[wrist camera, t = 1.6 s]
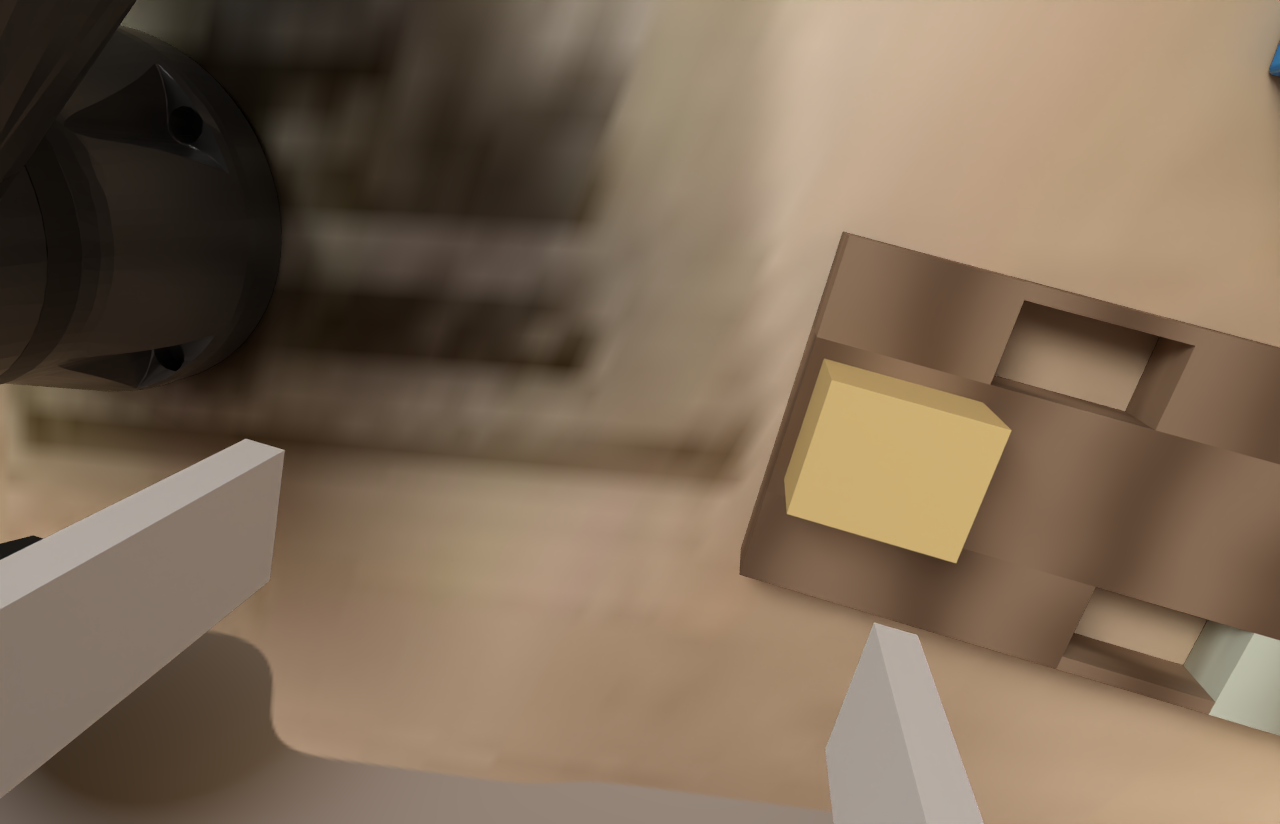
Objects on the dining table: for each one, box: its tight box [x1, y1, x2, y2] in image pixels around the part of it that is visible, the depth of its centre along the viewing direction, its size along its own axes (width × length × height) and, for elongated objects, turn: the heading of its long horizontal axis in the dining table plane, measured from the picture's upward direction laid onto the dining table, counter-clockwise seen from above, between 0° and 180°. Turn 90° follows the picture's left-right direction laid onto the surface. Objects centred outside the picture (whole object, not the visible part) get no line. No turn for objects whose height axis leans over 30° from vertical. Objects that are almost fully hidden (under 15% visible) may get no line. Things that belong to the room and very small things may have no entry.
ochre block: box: [784, 359, 1012, 563], centre depth 29 cm, size 6×5×4 cm
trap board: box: [740, 232, 1280, 736], centre depth 29 cm, size 25×14×6 cm, turn 76°
